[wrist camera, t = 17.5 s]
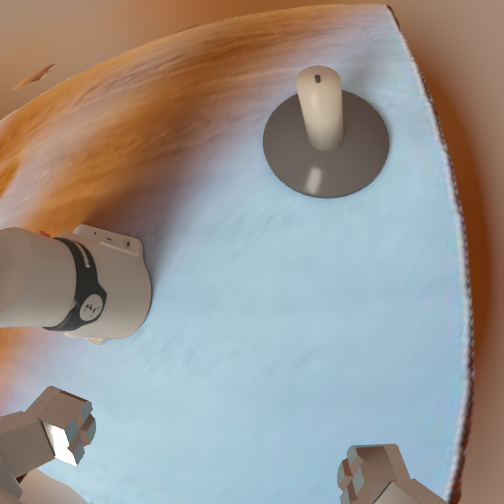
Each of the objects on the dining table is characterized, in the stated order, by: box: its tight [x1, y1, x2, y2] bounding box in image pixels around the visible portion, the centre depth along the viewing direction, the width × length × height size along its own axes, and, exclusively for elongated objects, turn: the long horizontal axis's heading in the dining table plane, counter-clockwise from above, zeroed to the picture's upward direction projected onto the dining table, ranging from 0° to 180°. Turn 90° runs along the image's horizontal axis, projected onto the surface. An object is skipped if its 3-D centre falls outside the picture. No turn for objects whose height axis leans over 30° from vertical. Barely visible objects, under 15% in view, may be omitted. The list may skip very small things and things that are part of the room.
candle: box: [295, 66, 343, 151], centre depth 36 cm, size 5×5×13 cm
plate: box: [263, 91, 389, 198], centre depth 42 cm, size 18×18×1 cm
